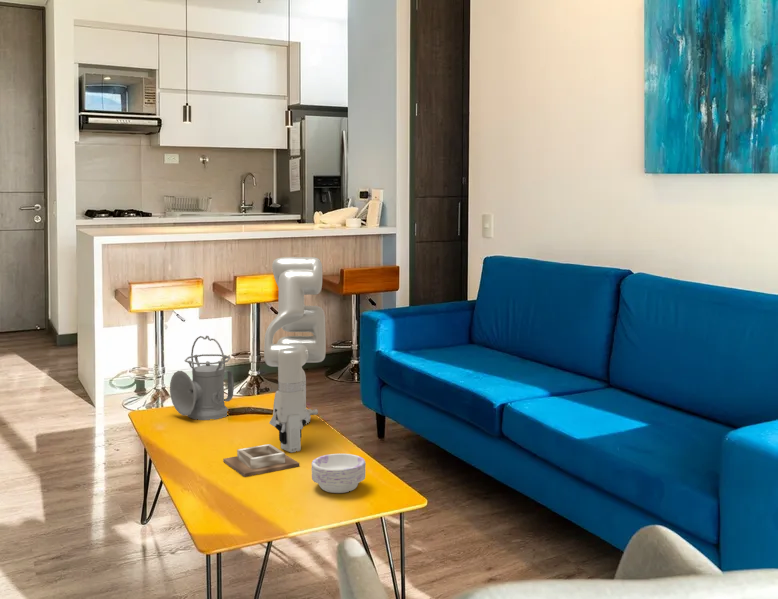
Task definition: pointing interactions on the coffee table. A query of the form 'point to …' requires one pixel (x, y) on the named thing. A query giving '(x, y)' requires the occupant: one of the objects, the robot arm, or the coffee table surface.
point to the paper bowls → (338, 472)
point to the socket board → (260, 460)
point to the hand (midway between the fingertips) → (290, 441)
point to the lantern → (202, 388)
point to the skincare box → (292, 434)
